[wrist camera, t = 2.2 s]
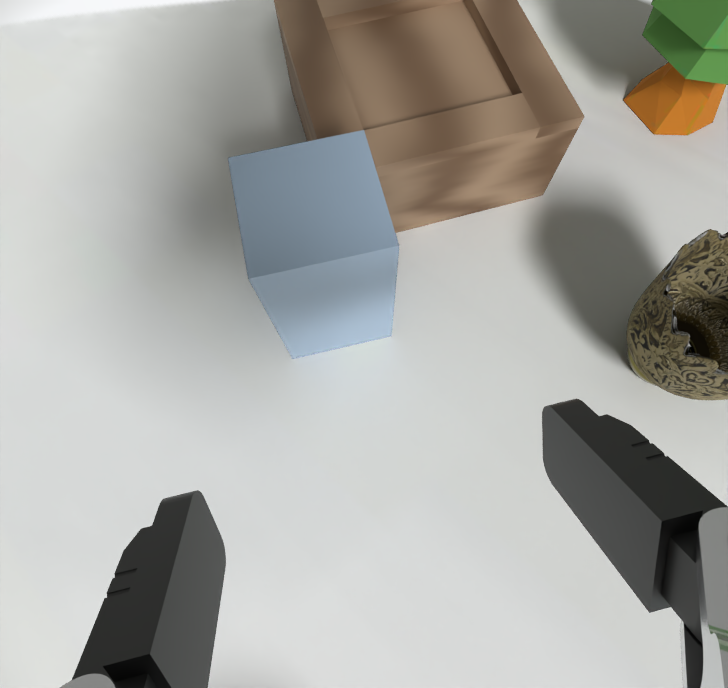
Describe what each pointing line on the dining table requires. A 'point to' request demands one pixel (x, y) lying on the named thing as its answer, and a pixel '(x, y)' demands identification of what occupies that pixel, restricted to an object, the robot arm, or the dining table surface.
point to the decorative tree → (684, 66)
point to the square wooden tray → (432, 98)
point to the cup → (685, 323)
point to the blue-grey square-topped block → (318, 241)
